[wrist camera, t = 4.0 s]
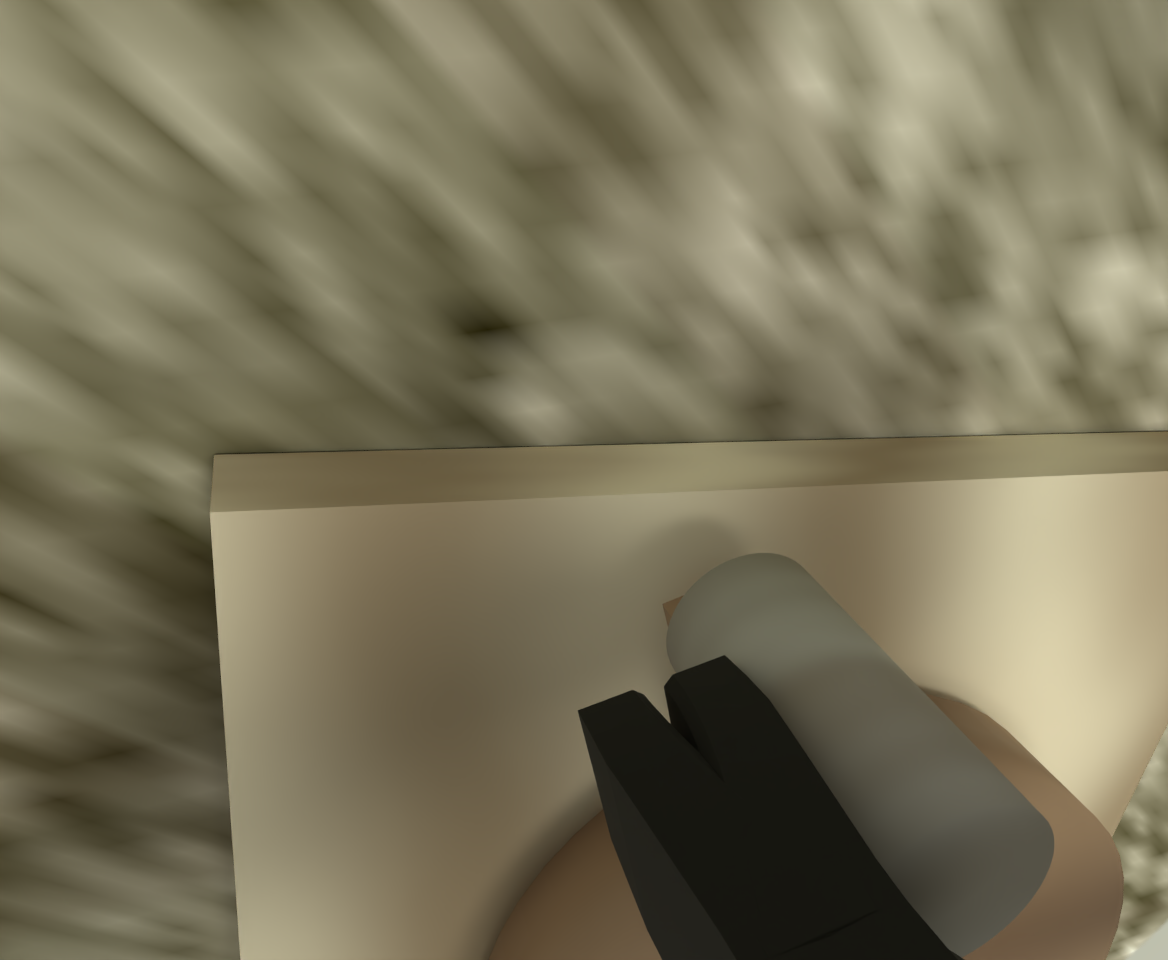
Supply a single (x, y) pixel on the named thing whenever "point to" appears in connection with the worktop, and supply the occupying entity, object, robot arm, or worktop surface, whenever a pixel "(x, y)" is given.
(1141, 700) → the wooden cutting board
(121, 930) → the worktop surface
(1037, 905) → the crank dial
